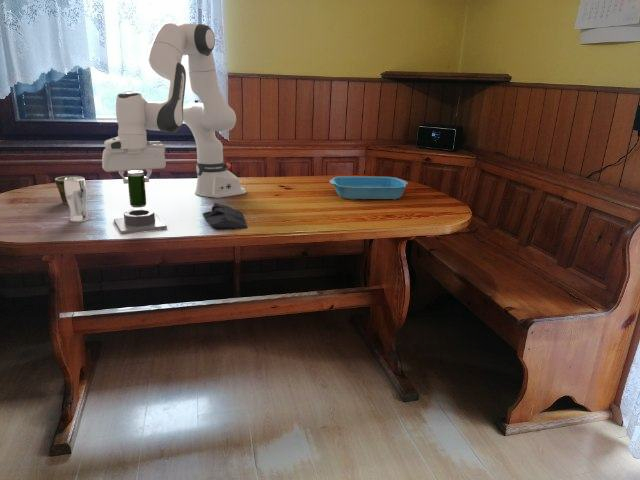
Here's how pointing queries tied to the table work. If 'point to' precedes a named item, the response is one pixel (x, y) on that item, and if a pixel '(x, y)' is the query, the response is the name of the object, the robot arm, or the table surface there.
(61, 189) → the ceramic cup
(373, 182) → the casserole dish
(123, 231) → the barrel holder
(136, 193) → the beer can
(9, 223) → the table surface
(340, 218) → the table surface
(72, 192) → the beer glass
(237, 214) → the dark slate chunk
